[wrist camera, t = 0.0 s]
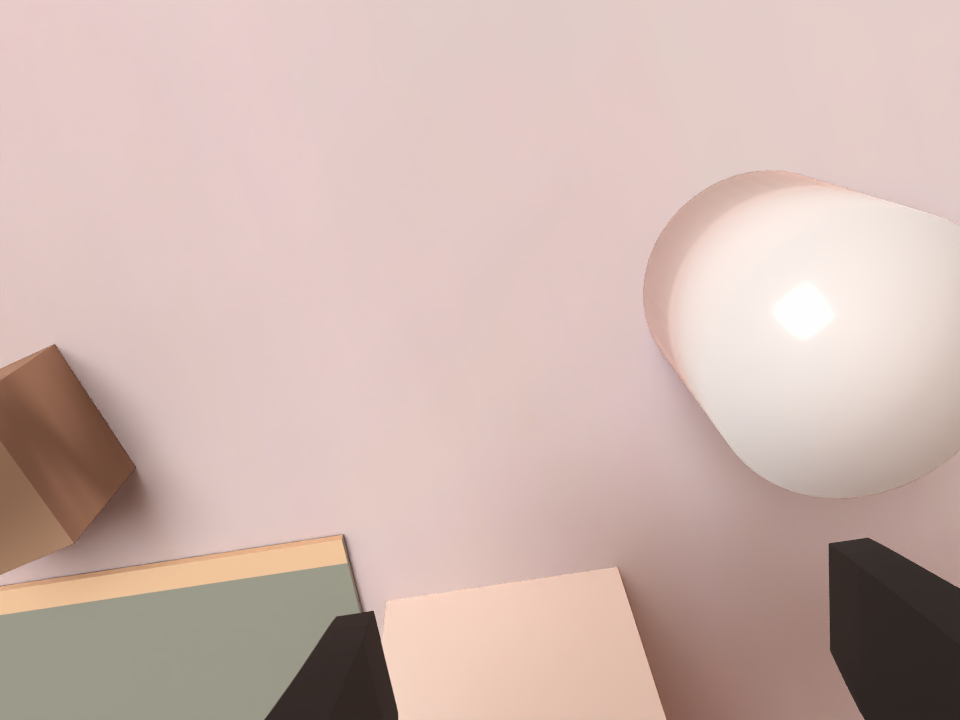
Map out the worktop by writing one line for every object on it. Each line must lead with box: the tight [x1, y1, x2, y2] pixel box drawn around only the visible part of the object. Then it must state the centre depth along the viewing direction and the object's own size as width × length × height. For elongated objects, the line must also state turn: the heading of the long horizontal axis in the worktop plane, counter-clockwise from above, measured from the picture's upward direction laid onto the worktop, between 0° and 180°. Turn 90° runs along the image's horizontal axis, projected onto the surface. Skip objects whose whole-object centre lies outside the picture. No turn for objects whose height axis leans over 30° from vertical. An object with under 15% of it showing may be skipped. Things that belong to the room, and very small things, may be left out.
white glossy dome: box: [643, 170, 960, 499], centre depth 19 cm, size 6×6×6 cm
